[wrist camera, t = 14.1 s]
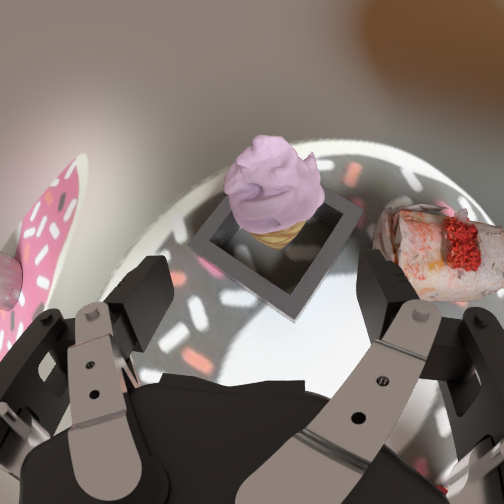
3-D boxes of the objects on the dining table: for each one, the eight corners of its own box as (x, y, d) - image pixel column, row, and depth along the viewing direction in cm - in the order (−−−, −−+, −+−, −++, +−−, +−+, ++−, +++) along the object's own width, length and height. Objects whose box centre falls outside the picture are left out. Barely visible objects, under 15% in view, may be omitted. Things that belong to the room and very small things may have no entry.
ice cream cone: (300, 208, 30) (302, 104, 16) (323, 259, 28) (350, 177, 14) (242, 229, 30) (202, 136, 16) (261, 282, 28) (231, 219, 14)
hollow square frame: (200, 257, 30) (187, 244, 26) (264, 175, 32) (260, 154, 28) (294, 323, 26) (294, 319, 23) (356, 226, 29) (364, 209, 25)
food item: (364, 304, 26) (398, 282, 17) (365, 229, 29) (391, 179, 19) (472, 307, 24) (527, 288, 14) (467, 240, 26) (513, 202, 17)
